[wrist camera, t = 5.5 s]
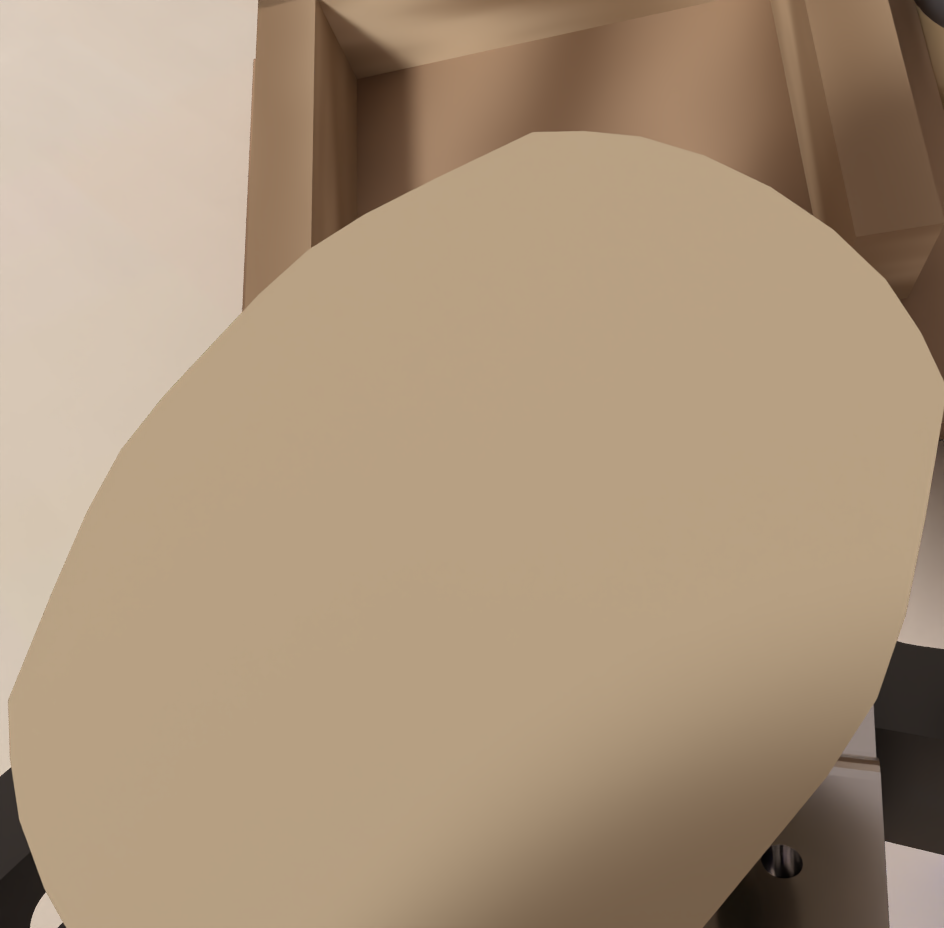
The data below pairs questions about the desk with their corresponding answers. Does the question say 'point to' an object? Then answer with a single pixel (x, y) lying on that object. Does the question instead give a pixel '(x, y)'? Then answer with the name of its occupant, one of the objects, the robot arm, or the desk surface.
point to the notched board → (603, 110)
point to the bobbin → (934, 37)
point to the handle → (489, 565)
